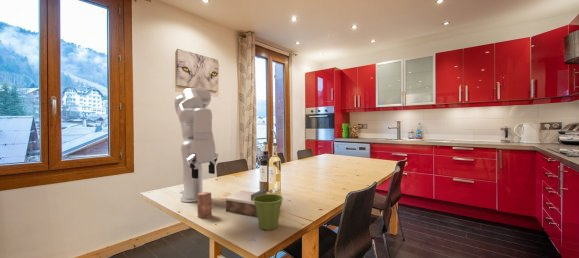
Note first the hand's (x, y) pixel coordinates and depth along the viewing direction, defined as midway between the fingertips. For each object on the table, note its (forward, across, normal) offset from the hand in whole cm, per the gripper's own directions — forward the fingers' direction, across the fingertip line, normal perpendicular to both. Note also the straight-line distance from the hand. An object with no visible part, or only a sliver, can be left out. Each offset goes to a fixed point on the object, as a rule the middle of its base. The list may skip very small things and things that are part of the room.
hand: (203, 175), depth 105 cm
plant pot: (+18, -2, +32) cm, 36 cm away
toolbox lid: (+12, -14, +14) cm, 24 cm away
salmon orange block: (+18, 0, 0) cm, 18 cm away
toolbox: (+18, -14, +14) cm, 27 cm away
